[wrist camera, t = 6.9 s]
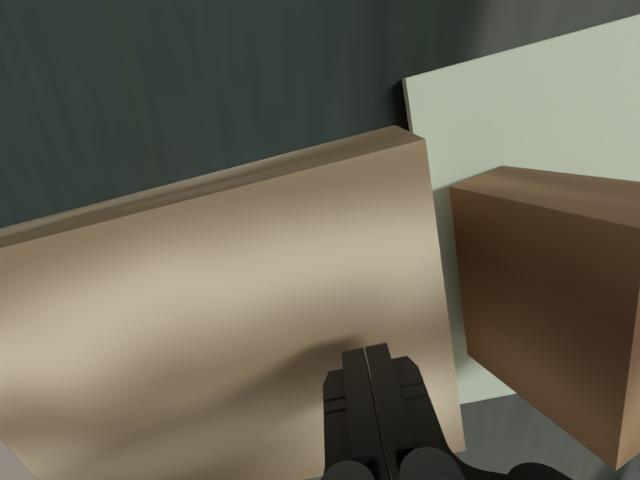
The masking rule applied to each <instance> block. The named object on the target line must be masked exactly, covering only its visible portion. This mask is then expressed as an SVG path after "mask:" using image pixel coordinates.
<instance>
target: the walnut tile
mask: <svg viewBox="0 0 640 480" xmlns="http://www.w3.org/2000/svg"><path fill="white" fill-rule="evenodd" d="M449 188H450V197H451V207H452V216H453V225H454V234H455V244H456V253H457V262H458V271H459V281H460V290H461V299H462V309H463V318H464V327H465V336H466V346H467V355H468V356H470V357H471V358H472V359H474V360H475V361H476V362H477V363H479V364H480V365H481V366H483V367H484V368H485V369H486V370H488V371H489V372H490V373H491V374H493V375H494V376H495V377H497V378H498V379H499V380H500V381H502V382H503V383H504V384H506V385H507V386H508V387H509V388H511V389H512V390H513V391H514V392H516V393H517V394H518V395H520V396H521V397H522V398H523V399H525V400H526V401H527V402H529V403H530V404H531V405H532V406H534V407H535V408H536V409H538V410H539V411H540V412H541V413H543V414H544V415H545V416H546V417H548V418H549V419H550V420H552V421H553V422H554V423H555V424H557V425H558V426H559V427H561V428H562V429H563V430H564V431H566V432H567V433H568V434H569V435H571V436H572V437H573V438H575V439H576V440H577V441H578V442H580V443H581V444H582V445H584V446H585V447H586V448H587V449H589V450H590V451H591V452H592V453H594V454H595V455H596V456H598V457H599V458H600V459H601V460H603V461H604V462H605V463H607V464H608V465H609V466H610V467H612V468H613V469H614V470H615V471H616V470H617V469H619V468H620V467H621V466H623V465H624V464H625V463H627V462H628V461H629V460H630V459H632V458H633V457H634V456H636V455H637V454H638V453H640V182H638V181H630V180H621V179H613V178H604V177H596V176H588V175H579V174H571V173H562V172H554V171H545V170H537V169H528V168H520V167H512V166H503V165H502V166H500V167H497V168H495V169H492V170H490V171H487V172H484V173H482V174H479V175H477V176H474V177H472V178H469V179H467V180H464V181H462V182H459V183H457V184H454V185H452V186H449Z"/></svg>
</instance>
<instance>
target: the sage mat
mask: <svg viewBox="0 0 640 480" xmlns="http://www.w3.org/2000/svg"><path fill="white" fill-rule="evenodd" d="M402 85H403V91H404V98H405V105H406V112H407V119H408V126H409V132H411V133H413V134H416V135H418V136H420V137H422V138H424V139H426V146H427V154H428V162H429V170H430V178H431V185H432V193H433V201H434V209H435V216H436V224H437V232H438V240H439V247H440V255H441V263H442V271H443V279H444V286H445V294H446V302H447V310H448V317H449V325H450V333H451V341H452V348H453V356H454V364H455V372H456V380H457V387H458V395H459V403H460V404H463V403H469V402H474V401H479V400H484V399H490V398H495V397H500V396H505V395H511V394H516V392H514V391H513V390H512V389H511V388H509V387H508V386H507V385H506V384H504V383H503V382H502V381H500V380H499V379H498V378H497V377H495V376H494V375H493V374H491V373H490V372H489V371H488V370H486V369H485V368H484V367H483V366H481V365H480V364H479V363H477V362H476V361H475V360H474V359H472V358H471V357H470V356H468V355H467V346H466V336H465V327H464V318H463V309H462V299H461V290H460V281H459V271H458V262H457V253H456V244H455V234H454V225H453V216H452V207H451V197H450V188H449V186H452V185H454V184H457V183H459V182H462V181H464V180H467V179H469V178H472V177H474V176H477V175H479V174H482V173H484V172H487V171H490V170H492V169H495V168H497V167H500V166H502V165H503V166H512V167H520V168H528V169H537V170H545V171H554V172H562V173H571V174H579V175H588V176H596V177H604V178H613V179H621V180H630V181H638V182H640V14H638V15H634V16H630V17H627V18H623V19H619V20H616V21H612V22H608V23H605V24H601V25H597V26H594V27H590V28H586V29H583V30H579V31H575V32H572V33H568V34H564V35H561V36H557V37H553V38H550V39H546V40H542V41H539V42H535V43H532V44H528V45H524V46H521V47H517V48H513V49H510V50H506V51H502V52H499V53H495V54H491V55H488V56H484V57H480V58H477V59H473V60H469V61H466V62H462V63H458V64H455V65H451V66H447V67H444V68H440V69H436V70H433V71H429V72H425V73H422V74H418V75H414V76H411V77H407V78H404V79H402Z"/></svg>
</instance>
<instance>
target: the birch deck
mask: <svg viewBox="0 0 640 480" xmlns="http://www.w3.org/2000/svg"><path fill="white" fill-rule="evenodd" d="M386 342H387V345H388V348H389V352H390V355H391V359H393V358H398V357H403V356H408V357H409V358H410V359H411V360H412V361H413V362H414V363H415V364H416V365H417V366H418V367H419V370H420V372H421V375H422V378H423V381H424V384H425V386H426V389H427V391H428V395H429V397H430V399H431V402H432V405H433V407H434V410H435V413H436V415H437V418H438V421H439V423H440V426H441V429H442V432H443V434H444V437H445V440H446V442H447V444H448V446H449V448H450V449H451V451H452V452H453V453H454V452H460V451H466V450H465V442H464V434H463V426H462V418H461V411H460V403H459V395H458V387H457V380H456V372H455V364H454V356H453V348H452V341H451V333H450V325H449V317H448V310H447V302H446V294H445V286H444V279H443V271H442V263H441V255H440V247H439V240H438V232H437V224H436V216H435V209H434V201H433V193H432V185H431V178H430V170H429V162H428V154H427V146H426V139H424V138H422V137H420V136H418V135H416V134H413V133H411V132H409V131H407V130H405V129H403V128H400V127H398V126H396V125H393V126H389V127H385V128H381V129H377V130H374V131H370V132H366V133H362V134H358V135H355V136H351V137H347V138H343V139H339V140H335V141H332V142H328V143H324V144H320V145H316V146H313V147H309V148H305V149H301V150H297V151H294V152H290V153H286V154H282V155H278V156H275V157H271V158H267V159H263V160H259V161H255V162H252V163H248V164H244V165H240V166H236V167H233V168H229V169H225V170H221V171H217V172H214V173H210V174H206V175H202V176H198V177H195V178H191V179H187V180H183V181H179V182H175V183H172V184H168V185H164V186H160V187H156V188H153V189H149V190H145V191H141V192H137V193H134V194H130V195H126V196H122V197H118V198H115V199H111V200H107V201H103V202H99V203H96V204H92V205H88V206H84V207H80V208H76V209H73V210H69V211H65V212H61V213H57V214H54V215H50V216H46V217H42V218H38V219H35V220H31V221H27V222H23V223H19V224H16V225H12V226H8V227H4V228H0V439H1V441H2V442H3V443H4V444H5V445H6V446H7V447H8V448H9V450H10V451H11V452H12V453H13V454H14V455H15V456H16V457H17V458H18V459H19V461H20V462H21V463H22V464H23V465H24V466H25V467H26V468H27V469H28V471H29V472H30V473H31V474H32V475H33V476H34V477H35V478H36V479H37V480H303V479H309V478H315V477H320V476H323V474H324V468H325V452H324V413H323V403H324V402H323V383H324V381H325V379H326V377H327V374H328V372H329V371H333V370H338V369H343V364H342V354H341V352H342V351H347V350H352V349H357V348H362V347H363V348H364V352H365V356H366V360H367V355H366V350H365V347H366V346H371V345H376V344H381V343H386ZM367 364H368V360H367ZM368 368H369V365H368ZM369 373H370V371H369ZM370 377H371V376H370Z"/></svg>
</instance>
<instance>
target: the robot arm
mask: <svg viewBox="0 0 640 480" xmlns="http://www.w3.org/2000/svg"><path fill="white" fill-rule="evenodd" d="M365 350H366V355H367V360H368V364H367V360H366V356H365V352H364V348H363V347H362V348H357V349H352V350H347V351H342V352H341V354H342V364H343V369H338V370H333V371H329V372H328V374H327V377H326V379H325V381H324V383H323V402H324V403H323V413H324V452H325V468H324V474H323V477H322V478H321V480H391V477H392V480H572V479H571V478H569V477H567V476H566V475H564V474H562V473H561V472H559V471H557V470H555V469H553V468H552V467H549V466H546V465H543V464H539V463H532V462H531V463H523V464H519V465H517V466H515V467H514V468H512V469H511V470H510V472H509V473H508V475H507V474H501V473H495V472H489V471H484V470H479V469H476V468H473V467H471V466H469V465H467V464H465V463H464V462H462V461H461V460H460V459H459V458H458V457H456V456H455V455H454V453H453V452H452V451H451V449H450V448H449V446H448V444H447V442H446V440H445V437H444V434H443V432H442V429H441V426H440V423H439V421H438V418H437V415H436V413H435V410H434V407H433V405H432V402H431V399H430V397H429V395H428V391H427V389H426V386H425V384H424V381H423V378H422V375H421V372H420V370H419V367H418V366H417V365H416V364H415V363H414V362H413V361H412V360H411V359H410V358H409V357H408V356H403V357H398V358H393V359H391V355H390V352H389V348H388V345H387V342H386V343H381V344H376V345H371V346H366V347H365ZM368 365H369V368H368ZM369 371H370V373H369ZM370 376H371V377H370ZM389 469H390V470H389ZM390 473H391V475H390Z"/></svg>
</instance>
